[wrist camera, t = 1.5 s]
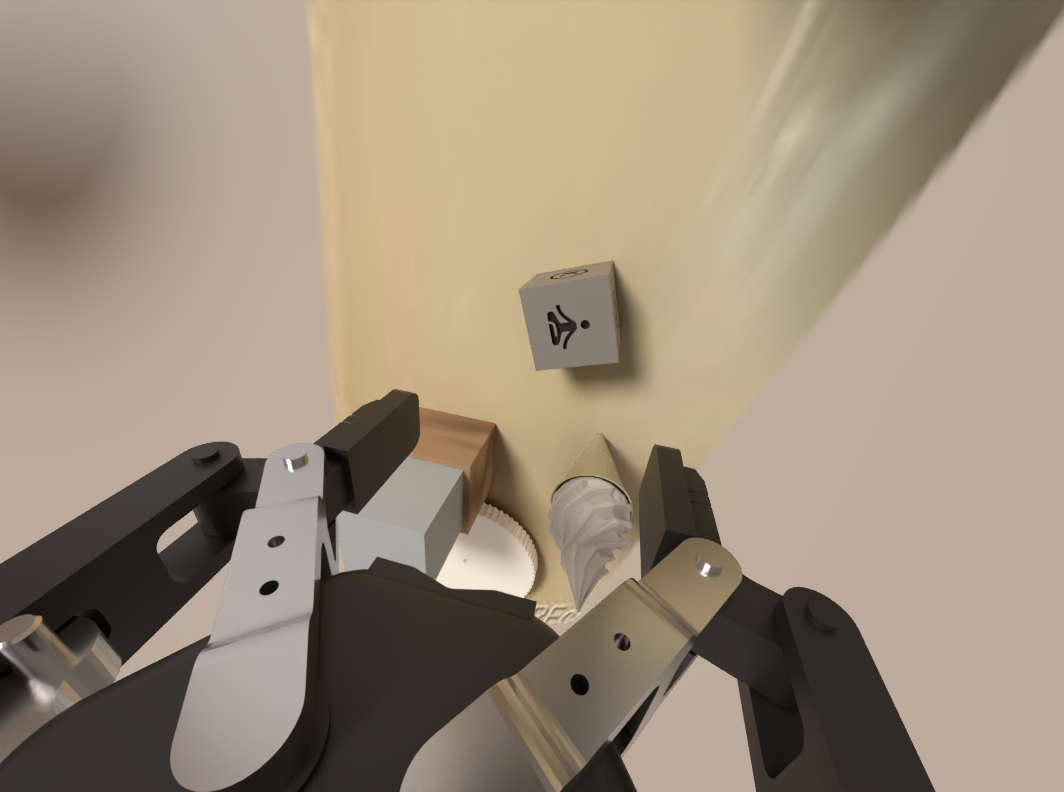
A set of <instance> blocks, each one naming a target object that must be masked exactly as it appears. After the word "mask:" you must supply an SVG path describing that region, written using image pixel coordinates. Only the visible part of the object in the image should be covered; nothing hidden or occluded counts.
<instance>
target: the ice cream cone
mask: <svg viewBox="0 0 1064 792" xmlns="http://www.w3.org/2000/svg"><path fill="white" fill-rule="evenodd" d="M632 515H633V505H632V501H631V499H630V497H629V495H628V494H627V492H626V491H625V489H624V487H623V484H622V482H621V479H620V477H619V473H618V471H617V469H616V466H615V464H614V461H613V459H612V456H611V454H610V451H609V449H608V446H607V444H606V441H605V439H604V437H603V434H601V433H599V434H597V435H596V437H595V438H594V439H593V441H592V442H591V443H590V445H589V446H588V447H587V449H586V450H585V451H584V453H583V454H582V455H581V457H580V458H579V459H578V461H577V462H576V463H575V465H574V466H573V468H572V469H571V470H570V472H569V473H568V474H567V476H566V477H565V478H564V480H563V481H561V482H560V483H559V484H558V485H557V486H556V487H555V489H554V490H553V493H552V495H551V508H550V512H549V530H548V531H549V533H550V534H551V536H552V538H553V540H554V542H555V544H556V546H557V547H558V549H559V550H560V553H561V566H562V567H563V569H564V570H565V572H566V574H567V575H568V579H569V582H570V586H571V589H572V593H573V597H574V600H575V604H576V609H577V612H580V609H581V607H582V606H583V604H584V602H585V600H586V599H587V597H588V596H589V594H590V593H591V591H592V590H593V588H594V586H595V585H596V583H597V582H598V580H599V579H601V578H602V577H603V576H605V575H606V574H607V573H609V571H608V570H607V569H606V568H605V567H604V565H605V564H606V563H607V562H608V561H612V560H614V559H615V558H614V556H613V555H612V551H613V550H614V548H618V549H621V550H623V549H626V547H627V544H628V543H627V540H624V539H621V533H626V532H628V531H629V530H631V529H632V527H633V525H632V523H631V522H630V521H631V519H632Z"/></svg>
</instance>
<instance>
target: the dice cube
mask: <svg viewBox="0 0 1064 792" xmlns="http://www.w3.org/2000/svg"><path fill="white" fill-rule="evenodd" d="M519 293H520V297H521V302H522V307H523V312H524V316H525V321H526V326H527V330H528V335H529V340H530V345H531V349H532V354H533V359H534V363H535V368H536V371H539V370H549V369H559V368H569V367H579V366H589V365H599V364H609V363H619V351H620V338H621V334H620V324H619V315H618V305H617V296H616V286H615V277H614V268H613V261H608V262H602V263H596V264H591V265H585V266H580V267H574V268H568V269H563V270H557V271H551V272H546V273H540V274H537V275H536V276H535V277H533V278H532V279H531V280H530V281H529V282H527V283H526V284H525V285H524V286H523V287H521V288H520V289H519Z"/></svg>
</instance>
